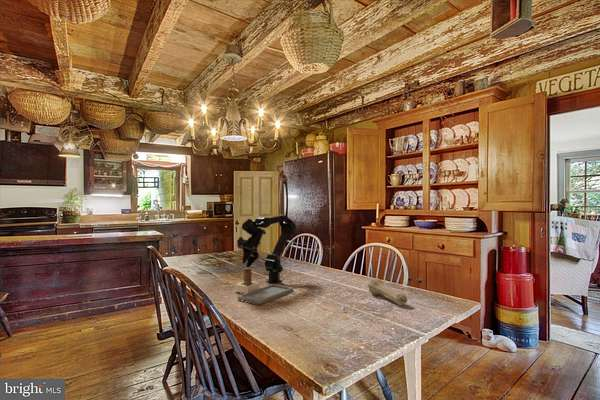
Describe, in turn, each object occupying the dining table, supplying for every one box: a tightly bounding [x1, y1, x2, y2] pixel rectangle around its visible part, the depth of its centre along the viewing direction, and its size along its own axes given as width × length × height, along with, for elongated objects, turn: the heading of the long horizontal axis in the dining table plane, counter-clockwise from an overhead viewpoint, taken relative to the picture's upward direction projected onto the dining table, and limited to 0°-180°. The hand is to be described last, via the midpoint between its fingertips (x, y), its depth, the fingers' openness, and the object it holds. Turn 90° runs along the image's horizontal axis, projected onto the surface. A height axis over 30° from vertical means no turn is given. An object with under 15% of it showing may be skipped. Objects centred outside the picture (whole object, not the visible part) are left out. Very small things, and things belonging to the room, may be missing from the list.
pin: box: [243, 267, 253, 286], centre depth 161 cm, size 4×4×12 cm
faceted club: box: [367, 277, 408, 307], centre depth 145 cm, size 9×8×25 cm
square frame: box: [234, 281, 261, 294], centre depth 161 cm, size 9×9×4 cm
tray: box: [237, 283, 294, 306], centre depth 154 cm, size 26×14×2 cm, turn 145°
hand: (245, 265), depth 160 cm, fingers open, 9 cm apart
